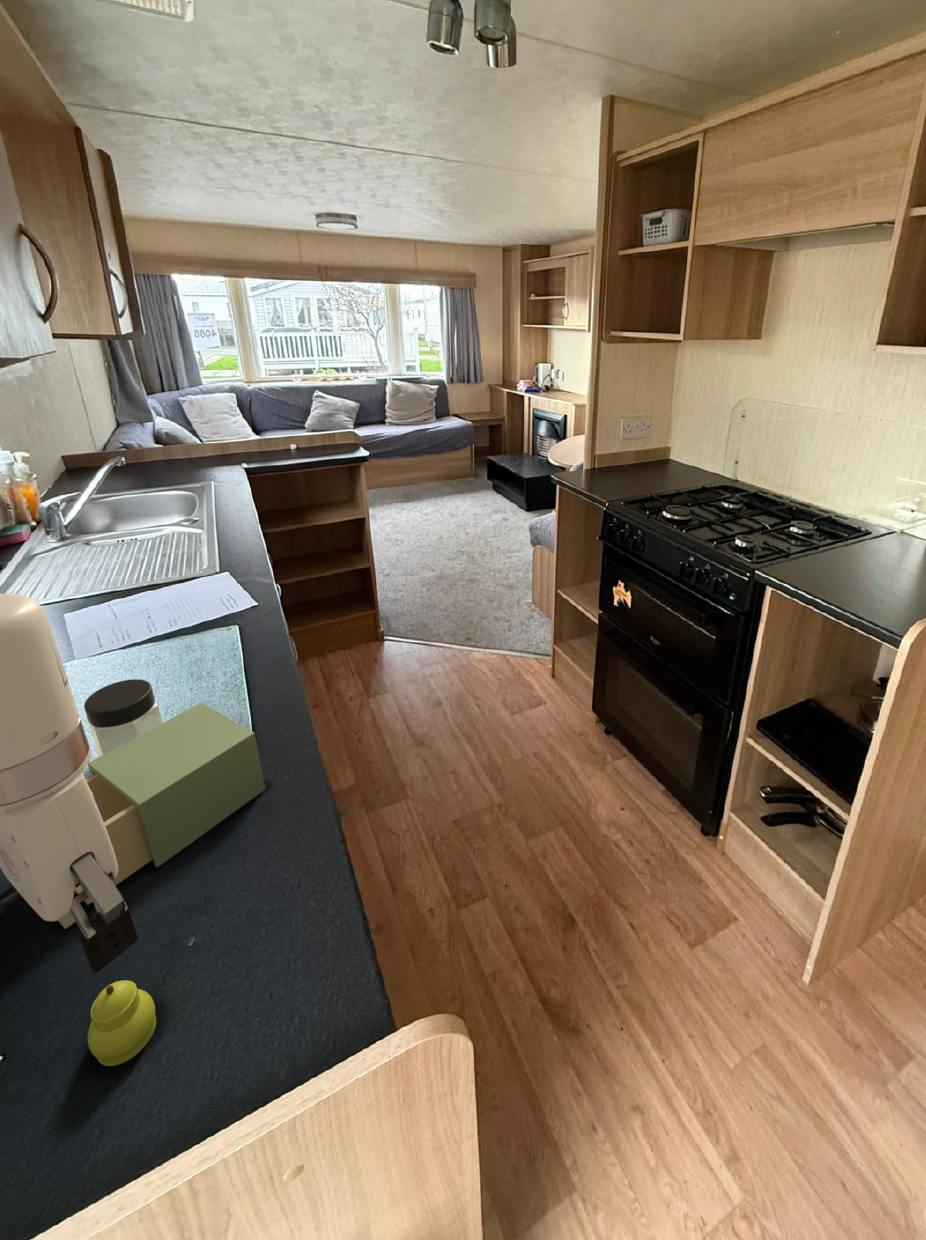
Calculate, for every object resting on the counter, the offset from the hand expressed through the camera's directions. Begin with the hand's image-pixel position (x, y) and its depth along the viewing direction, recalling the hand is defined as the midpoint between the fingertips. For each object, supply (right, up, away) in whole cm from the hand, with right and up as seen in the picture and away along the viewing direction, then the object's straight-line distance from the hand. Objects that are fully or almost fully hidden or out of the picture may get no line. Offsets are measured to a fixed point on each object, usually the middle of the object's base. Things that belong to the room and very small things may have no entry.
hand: (86, 923), depth 48 cm
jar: (-22, -2, +39) cm, 45 cm away
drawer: (-15, -8, +20) cm, 26 cm away
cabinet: (-9, -5, +30) cm, 32 cm away
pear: (0, -14, +5) cm, 15 cm away
